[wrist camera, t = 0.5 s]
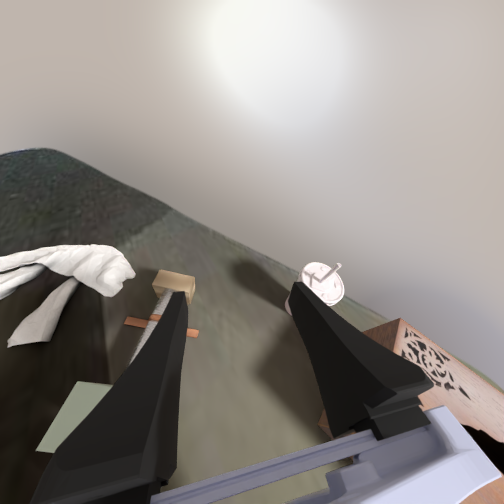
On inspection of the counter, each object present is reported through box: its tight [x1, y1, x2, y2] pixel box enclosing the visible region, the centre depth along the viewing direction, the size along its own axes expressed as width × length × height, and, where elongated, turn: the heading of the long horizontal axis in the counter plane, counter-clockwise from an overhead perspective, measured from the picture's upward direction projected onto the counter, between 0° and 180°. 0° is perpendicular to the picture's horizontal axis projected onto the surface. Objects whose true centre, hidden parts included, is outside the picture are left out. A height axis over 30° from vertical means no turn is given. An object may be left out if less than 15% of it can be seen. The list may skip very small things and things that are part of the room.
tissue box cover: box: [318, 318, 504, 504], centre depth 20 cm, size 26×14×10 cm, turn 49°
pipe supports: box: [124, 269, 199, 338], centre depth 22 cm, size 21×10×4 cm, turn 172°
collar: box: [36, 381, 113, 453], centre depth 17 cm, size 4×6×7 cm
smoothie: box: [285, 262, 344, 316], centre depth 27 cm, size 6×6×14 cm
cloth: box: [0, 244, 136, 348], centre depth 25 cm, size 20×22×2 cm
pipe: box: [125, 288, 177, 370], centre depth 21 cm, size 21×2×2 cm, turn 172°
